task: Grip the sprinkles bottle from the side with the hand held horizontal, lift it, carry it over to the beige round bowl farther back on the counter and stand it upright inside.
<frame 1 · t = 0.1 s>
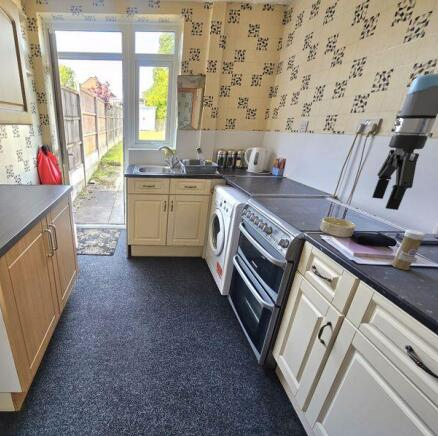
hand: (383, 203, 80), 22 cm above the countertop, tool pointing down, fingers open, 13 cm apart
beige round bowl: (335, 232, 112), on the countertop
sprinkles bottle: (399, 267, 85), on the countertop
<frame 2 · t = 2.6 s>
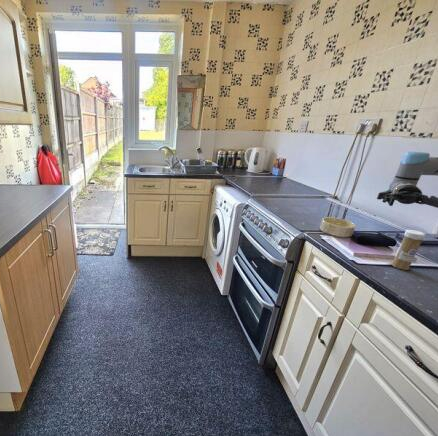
hand: (418, 206, 85), 20 cm above the countertop, tool horizontal, fingers open, 13 cm apart
nothing on the countertop moved.
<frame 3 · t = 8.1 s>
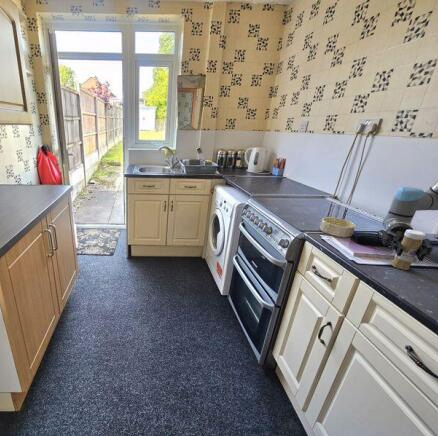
hand: (411, 254, 79), 7 cm above the countertop, tool horizontal, fingers closed on sprinkles bottle, 4 cm apart
sprinkles bottle: (399, 267, 85), on the countertop, touching gripper
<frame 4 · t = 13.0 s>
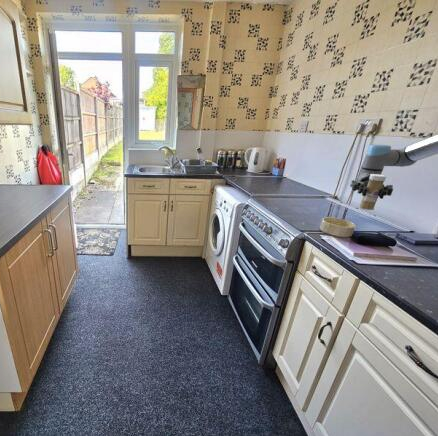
hand: (373, 193, 91), 22 cm above the countertop, tool horizontal, fingers closed on sprinkles bottle, 4 cm apart
sprinkles bottle: (365, 208, 98), point 15 cm above the countertop, touching gripper
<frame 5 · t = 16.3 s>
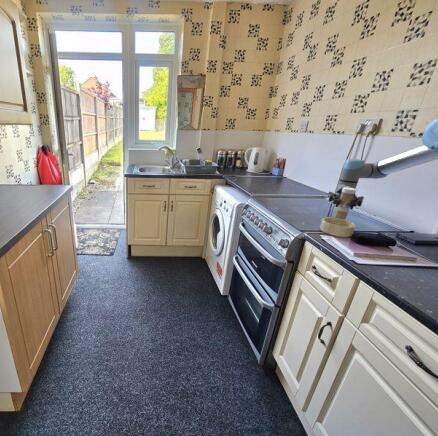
hand: (344, 205, 103), 14 cm above the countertop, tool horizontal, fingers closed on sprinkles bottle, 4 cm apart
sprinkles bottle: (339, 217, 110), point 7 cm above the countertop, touching gripper
when the fingers open (8 cm above the countertop, at t = 18.4 s): sprinkles bottle stays where it is, resting on beige round bowl.
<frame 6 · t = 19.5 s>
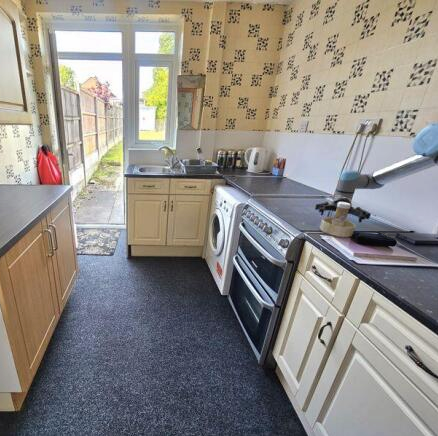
hand: (341, 215, 107), 9 cm above the countertop, tool horizontal, fingers open, 13 cm apart
sprinkles bottle: (335, 231, 112), resting on beige round bowl
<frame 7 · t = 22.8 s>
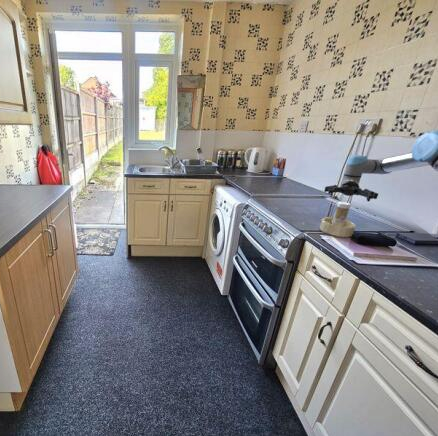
hand: (350, 195, 112), 16 cm above the countertop, tool horizontal, fingers open, 13 cm apart
nothing on the countertop moved.
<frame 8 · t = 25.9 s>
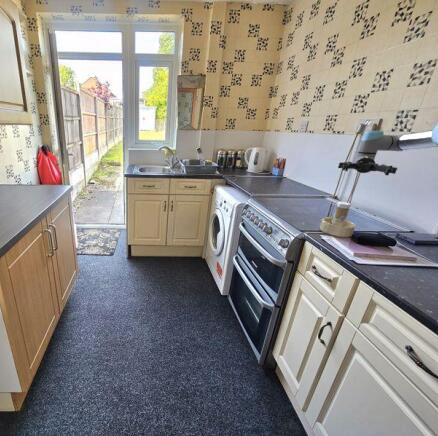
hand: (367, 170, 106), 28 cm above the countertop, tool horizontal, fingers open, 13 cm apart
nothing on the countertop moved.
at the end: sprinkles bottle inside the target area in the beige round bowl (0.1 cm from its centre), point 0.4 cm above the beige round bowl's base; sprinkles bottle tilted 0°; the gripper is holding nothing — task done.
